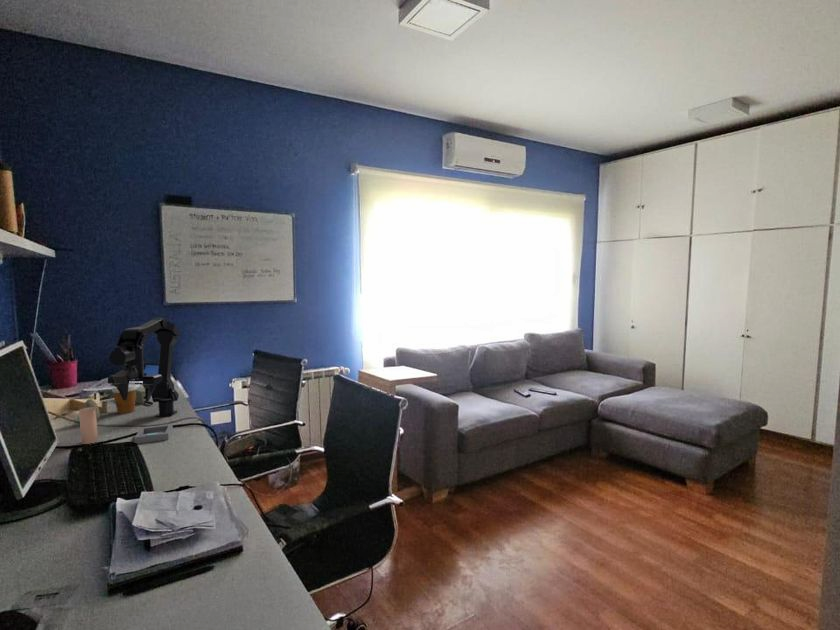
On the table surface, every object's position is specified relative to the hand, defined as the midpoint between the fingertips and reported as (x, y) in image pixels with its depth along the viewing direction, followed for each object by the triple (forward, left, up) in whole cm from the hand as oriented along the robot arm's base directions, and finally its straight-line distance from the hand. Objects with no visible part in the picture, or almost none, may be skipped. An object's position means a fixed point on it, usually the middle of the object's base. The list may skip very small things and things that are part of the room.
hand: (136, 400), depth 164 cm
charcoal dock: (+6, +9, -13) cm, 16 cm away
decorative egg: (-13, -25, -13) cm, 31 cm away
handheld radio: (-43, -22, -13) cm, 50 cm away
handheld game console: (-85, -39, -13) cm, 95 cm away
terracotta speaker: (+9, -12, -13) cm, 20 cm away
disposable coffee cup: (-27, -19, -13) cm, 36 cm away
